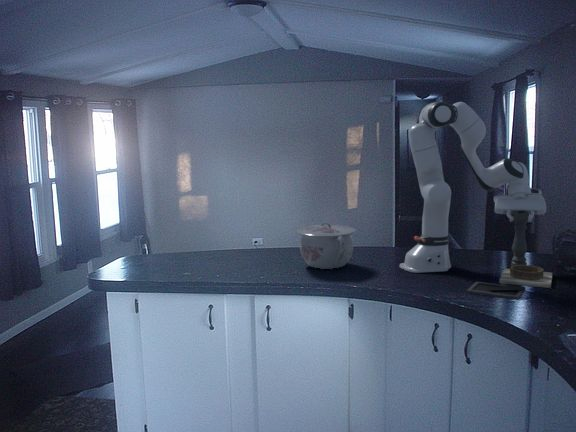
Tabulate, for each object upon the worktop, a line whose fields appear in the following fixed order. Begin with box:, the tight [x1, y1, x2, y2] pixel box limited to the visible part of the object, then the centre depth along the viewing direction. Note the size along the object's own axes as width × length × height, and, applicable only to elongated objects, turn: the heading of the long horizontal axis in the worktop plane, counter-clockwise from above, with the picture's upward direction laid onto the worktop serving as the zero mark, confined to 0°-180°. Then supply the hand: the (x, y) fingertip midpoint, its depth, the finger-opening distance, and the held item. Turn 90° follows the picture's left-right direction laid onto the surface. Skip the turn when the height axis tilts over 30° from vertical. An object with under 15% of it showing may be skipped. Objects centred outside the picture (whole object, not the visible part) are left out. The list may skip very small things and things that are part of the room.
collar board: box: [499, 264, 553, 289], centre depth 213 cm, size 18×18×4 cm
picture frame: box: [466, 281, 527, 301], centre depth 199 cm, size 13×2×18 cm
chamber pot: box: [295, 221, 358, 270], centre depth 242 cm, size 28×28×21 cm
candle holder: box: [510, 211, 529, 267], centre depth 225 cm, size 6×6×25 cm
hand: (520, 221), depth 223 cm, fingers closed on candle holder, 5 cm apart
